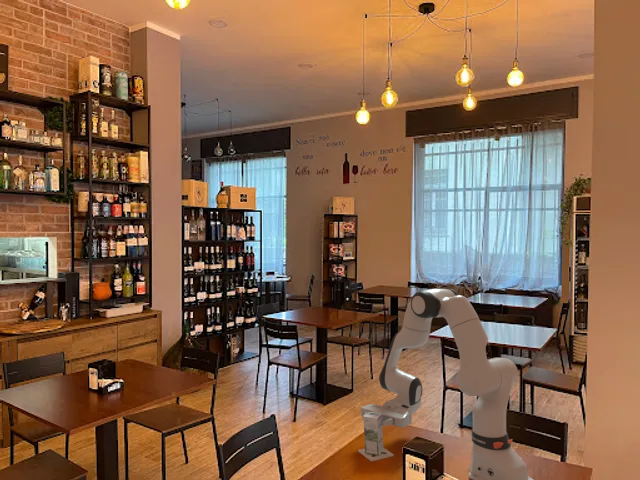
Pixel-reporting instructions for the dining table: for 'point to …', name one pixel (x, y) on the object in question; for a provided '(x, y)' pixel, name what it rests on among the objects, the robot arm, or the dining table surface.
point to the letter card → (371, 457)
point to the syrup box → (373, 433)
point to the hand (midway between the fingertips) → (373, 421)
